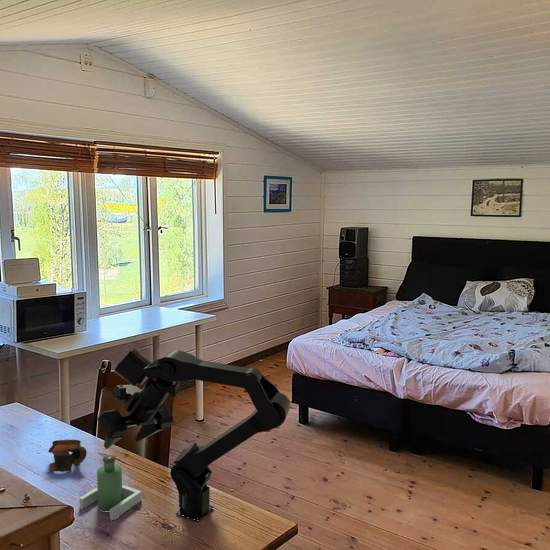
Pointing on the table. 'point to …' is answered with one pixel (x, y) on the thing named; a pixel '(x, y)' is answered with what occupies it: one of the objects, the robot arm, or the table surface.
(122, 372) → the robot arm
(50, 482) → the table surface
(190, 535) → the table surface
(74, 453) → the pottery mug
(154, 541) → the table surface
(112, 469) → the bottle
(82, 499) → the u rest
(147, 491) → the table surface
